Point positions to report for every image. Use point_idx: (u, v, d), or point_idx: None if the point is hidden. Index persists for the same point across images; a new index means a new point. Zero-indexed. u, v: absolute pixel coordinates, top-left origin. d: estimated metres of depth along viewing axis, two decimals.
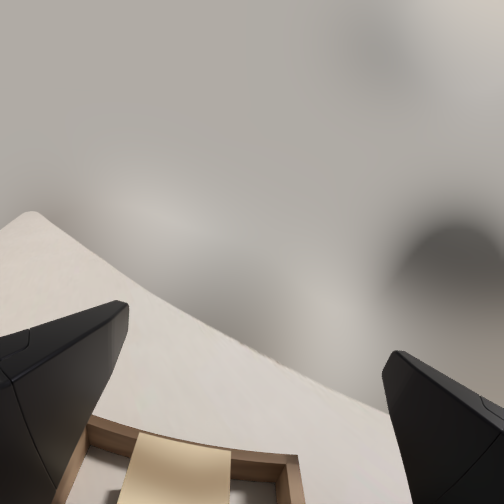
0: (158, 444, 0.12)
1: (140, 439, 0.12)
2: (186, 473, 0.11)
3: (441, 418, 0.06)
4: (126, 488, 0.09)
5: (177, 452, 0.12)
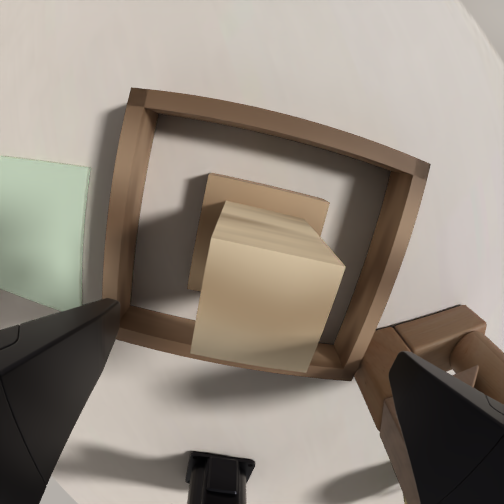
0: (240, 258, 0.10)
1: (213, 252, 0.10)
2: (275, 306, 0.11)
3: (448, 417, 0.06)
4: (199, 332, 0.11)
5: (268, 270, 0.10)
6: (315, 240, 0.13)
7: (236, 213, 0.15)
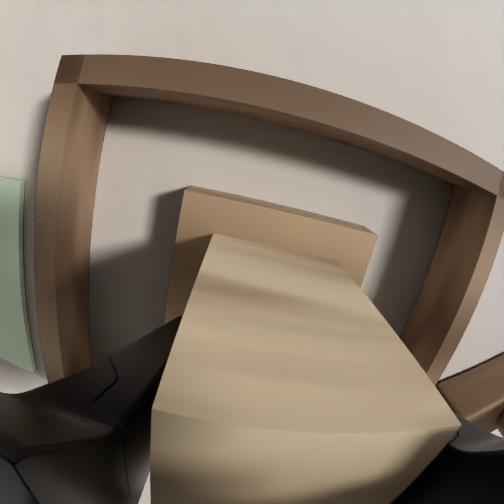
0: (234, 448, 0.03)
1: (163, 435, 0.03)
2: (310, 499, 0.04)
3: None
4: None
5: (302, 462, 0.03)
6: (381, 332, 0.06)
7: (228, 269, 0.08)
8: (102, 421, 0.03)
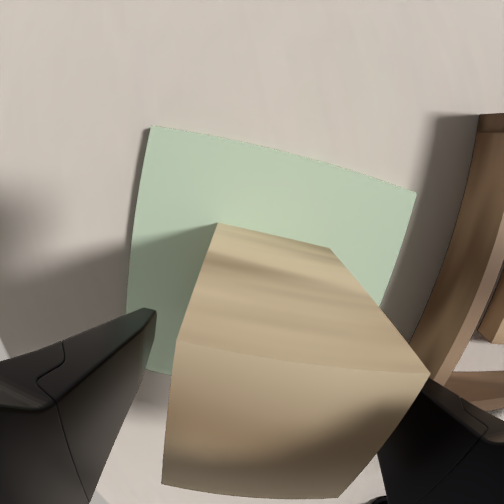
0: (239, 377, 0.05)
1: (182, 366, 0.05)
2: (302, 439, 0.05)
3: (418, 420, 0.06)
4: (171, 465, 0.05)
5: (294, 395, 0.05)
6: (363, 302, 0.08)
7: (232, 250, 0.09)
8: (38, 396, 0.03)
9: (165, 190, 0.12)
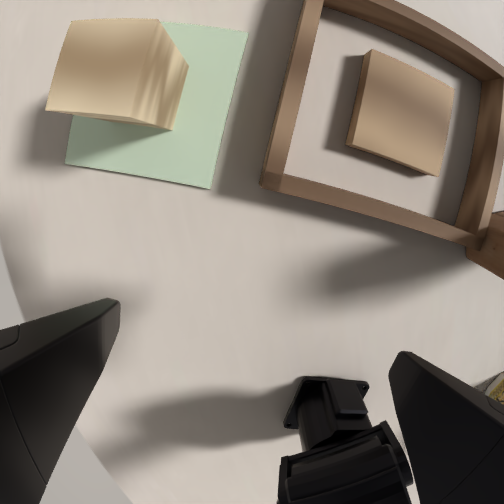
0: (85, 28, 0.10)
1: (70, 29, 0.10)
2: (104, 55, 0.10)
3: (448, 417, 0.06)
4: (53, 88, 0.10)
5: (102, 31, 0.10)
6: None
7: None
8: None
9: None
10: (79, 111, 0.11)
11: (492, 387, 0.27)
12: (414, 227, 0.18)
